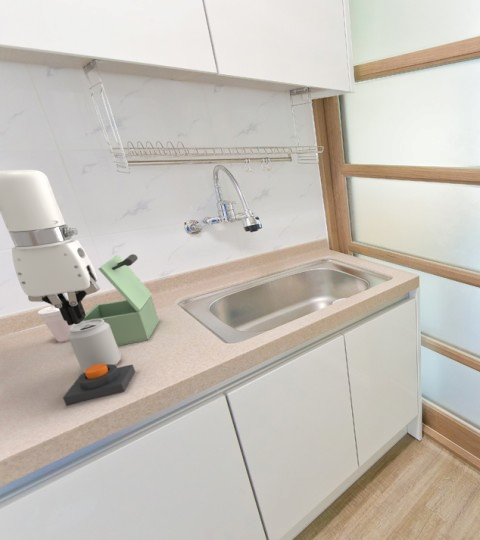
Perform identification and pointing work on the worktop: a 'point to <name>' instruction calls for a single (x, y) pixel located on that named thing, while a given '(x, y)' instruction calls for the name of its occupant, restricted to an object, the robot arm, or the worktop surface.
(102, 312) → the green hinged box
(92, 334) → the can
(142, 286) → the lid
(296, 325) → the worktop surface
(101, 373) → the button
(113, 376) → the control block
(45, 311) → the smoothie
